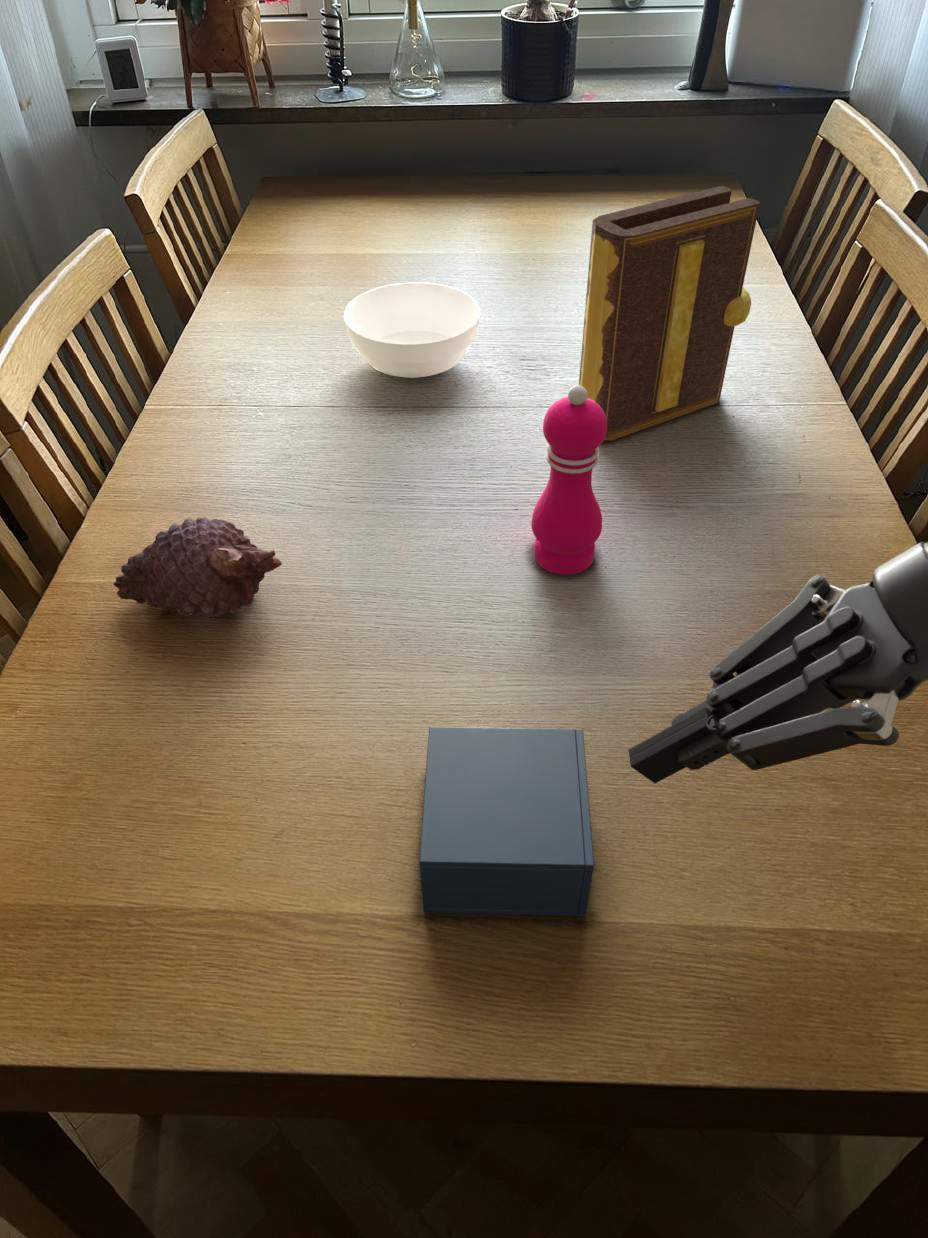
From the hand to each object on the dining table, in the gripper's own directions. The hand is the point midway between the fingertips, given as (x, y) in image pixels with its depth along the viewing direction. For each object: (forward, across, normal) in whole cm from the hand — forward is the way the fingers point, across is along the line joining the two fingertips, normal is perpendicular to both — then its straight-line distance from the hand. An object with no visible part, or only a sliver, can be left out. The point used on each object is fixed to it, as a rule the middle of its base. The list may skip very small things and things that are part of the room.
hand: (641, 766), depth 65 cm
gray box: (+7, 0, -3) cm, 8 cm away
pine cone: (+35, +28, +20) cm, 49 cm away
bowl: (+22, +77, +7) cm, 81 cm away
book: (0, +65, -15) cm, 67 cm away
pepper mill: (+9, +36, -6) cm, 37 cm away
